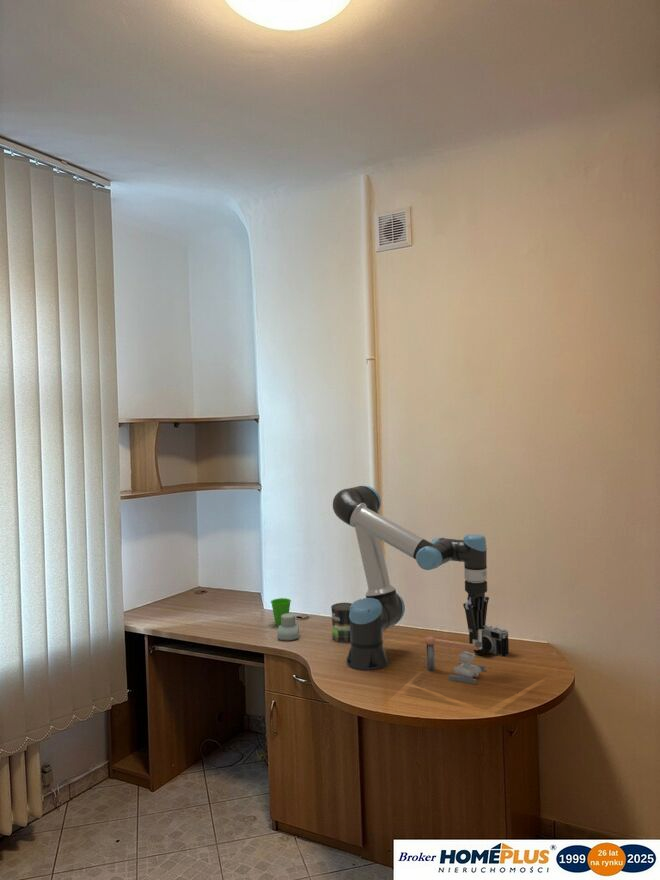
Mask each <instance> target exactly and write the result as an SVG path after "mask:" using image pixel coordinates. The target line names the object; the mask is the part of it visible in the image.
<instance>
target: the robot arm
mask: <svg viewBox="0 0 660 880" xmlns="http://www.w3.org/2000/svg"><path fill="white" fill-rule="evenodd" d="M381 505H382V500H381V496H380V494H379V492H378V491H377V489H375V488H373V487H372V486H370V485H358V486H354V487H349V488H344V489H342V490H339V491H337V493H336V494H335V496H334V497H333V500H332V509H333V513H334V514H335V515H336V517H337V518H338V519H339V520H341V521H342V522H343V523H346V525H349V526H350V527H352V528H354V530H355V534H356V539H357V544H358V547H359V552H360V558H361V563H362V566H363V570H364V575H365V581H366V585H367V591H366V593H365V598H364V597H363V598H359V599H357V600H355V601H353V602H352V604H351V606H350V613H349V618H350V640H351V642H350V647H349V650H348V654H347V657H346V661H345V662H346V665H347V667H348V668H350V669H352V670H356V671H361V672H362V671H363V672H364V671H365V672H366V671H367V672H370V671H371V672H372V671H377V670H381V669H384V668H386V667H387V666H388V665H389V658H388V656H387V654H386V650H385V648H384V643H383V632H384V631H386V630H387V629H390V628H391V627H393V626H395V625H396V624H398V623H399V622H400V621H401V620H402V619H403V617H404V615H405V613H406V612H405V611H406V610H405V609H406V608H405V607H406V605H405V602H404V600H403V598H402V596H400V594H398V593H397V591H396V590H397V589H396V588H395V587H394V586H393V585H391V581H390V577H389V573H388V568H387V563H386V559H385V554H384V550H383V545H382V542H381V541H383V542H384V543H386V544H387V545H389V546H391V547H393V548H395V549H396V550H398V551H400V552H402V553H403V554H405V555H407V556H409V557H410V558H412V559H414V560H415V561H416V563H417V565H418V567H420V568H421V569H422V570H425V571H431V570H435V569H437V568H439V567H440V566H442V565H443V564H446V563H448V562H458V563H459V562H460V563H462V562H463V563H464V564H463V565H464V566H463V567H464V568H463V569H464V570H463V571H464V576H463V577H464V591H465V592H466V593H467V601H466V602H464V603H463V604H462V605H463V609H464V611H465V618H466V624H467V629H471V630H472V638H473V644H475V642H482V629H485V627H483V626H485V624H487V623H486V622H487V615H488V614H487V613H488V605H489V600H490V597H489V596H486V593H487V592H488V581H487V580H488V572H487V571H488V568H487V567H488V566H487V562H488V561H487V559H488V558H487V549H488V548H487V542H486V541H487V540H486V539H487V538H486V536H484V535H482V534H479V533H478V534H477V533H475V534H474V533H473V534H472V533H471V534H465V535H464V536H463V539H455V538H445V537H434V538H433V539H432V541H431V542H430V541H429V540H426V539H424V538H423V537H421V536H420V535H417V534H416V533H414V532H412V531H411V530H409V529H407V528H405V527H403V526H401V525H399V524H398V523H396V522H394V521H392V520H390V519H388V518H386V517H385V516H383V515H381V514H379V510H380V508H381ZM480 649H482V647H479V650H480Z"/></svg>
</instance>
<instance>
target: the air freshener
mask: <svg viewBox="0 0 660 880" xmlns="http://www.w3.org/2000/svg"><path fill="white" fill-rule="evenodd" d="M299 637H300V626H299V625H298V624H297V623H296V614H294V613H290V612H289V613H286V614H283V615H282V616H281V625H280V626H279V627H278V626H277V638H278V640H280V641H284V640H285V641H287V642H289V641H295V640H297V639H299Z"/></svg>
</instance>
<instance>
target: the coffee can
mask: <svg viewBox="0 0 660 880" xmlns="http://www.w3.org/2000/svg"><path fill="white" fill-rule="evenodd" d="M352 603H353V602H352ZM352 603H350V602H337V603H334V604H332V605H331V606H330V608H331V635H332V636H331V637H332V639H331V640H332V641H333V642H337V643H345V644H346V643H351V640H350V618H349V613H350V606H351V604H352Z"/></svg>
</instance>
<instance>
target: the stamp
mask: <svg viewBox="0 0 660 880" xmlns="http://www.w3.org/2000/svg"><path fill="white" fill-rule="evenodd" d="M457 655H458V656H457V657H458V659H459V661H460V662H463V664H461V665H459V664H458V665H457V666H454V668H453V672H454V674H455V675H456V676H461V677H467V678H473V679H474V678H478V677H479V675H480V673H481V672H482V671H481V669H480V667H478V666H475V665H476V664H475V665H472V664H473V663H472V661H474V660H475V658H476V653H473V652H469V651H466V650H465V651H463V652H461V653H459V654H457Z"/></svg>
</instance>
